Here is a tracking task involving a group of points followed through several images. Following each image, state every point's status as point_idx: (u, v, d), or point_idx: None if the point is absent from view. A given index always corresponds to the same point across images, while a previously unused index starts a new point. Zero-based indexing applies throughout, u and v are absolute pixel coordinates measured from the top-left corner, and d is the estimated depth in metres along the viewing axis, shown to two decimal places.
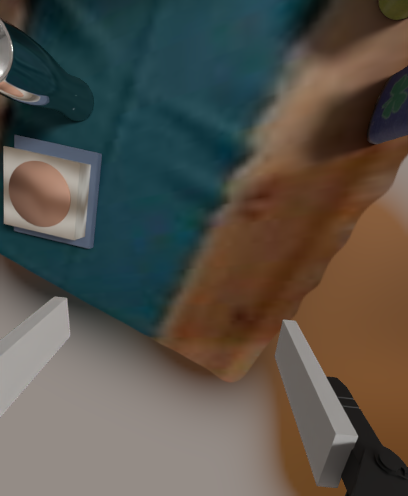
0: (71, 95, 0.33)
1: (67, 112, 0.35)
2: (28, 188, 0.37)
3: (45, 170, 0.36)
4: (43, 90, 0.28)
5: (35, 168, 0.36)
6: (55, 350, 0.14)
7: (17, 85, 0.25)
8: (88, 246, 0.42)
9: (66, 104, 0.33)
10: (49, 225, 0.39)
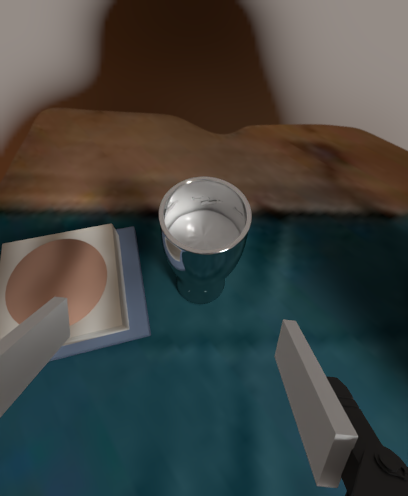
0: (203, 289, 0.25)
1: (182, 284, 0.27)
2: (63, 265, 0.26)
3: (96, 281, 0.25)
4: (191, 277, 0.19)
5: (94, 267, 0.26)
6: (55, 350, 0.14)
7: (180, 258, 0.17)
8: None
9: (190, 287, 0.25)
10: (9, 309, 0.24)
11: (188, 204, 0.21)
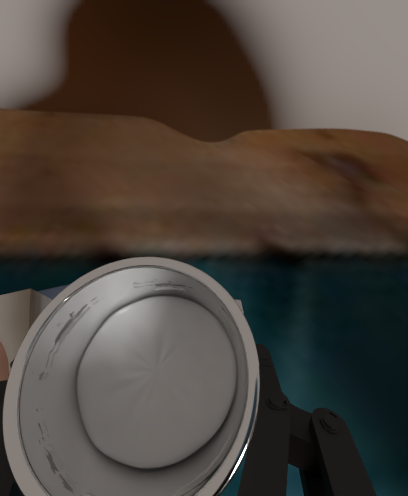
0: None
1: None
2: None
3: None
4: None
5: None
6: None
7: None
8: None
9: None
10: None
11: (130, 292, 0.11)
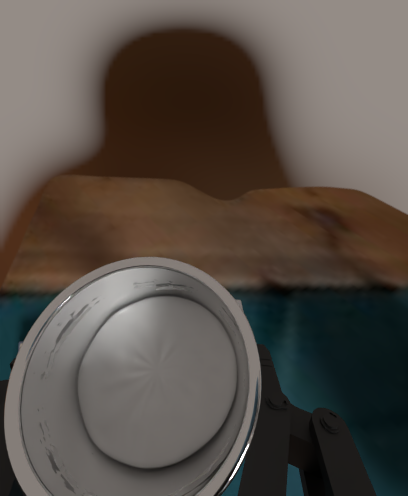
0: None
1: None
2: None
3: None
4: None
5: None
6: None
7: None
8: None
9: None
10: None
11: (131, 292, 0.11)
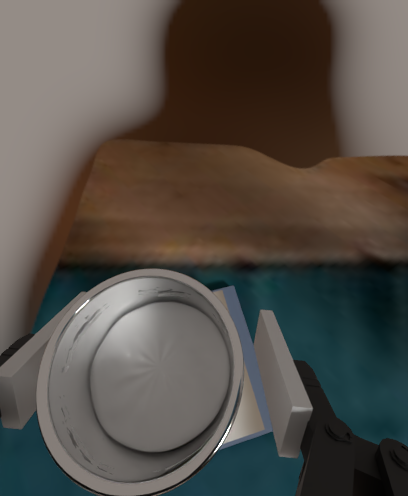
0: None
1: None
2: None
3: None
4: None
5: None
6: None
7: None
8: None
9: None
10: None
11: (136, 298, 0.12)
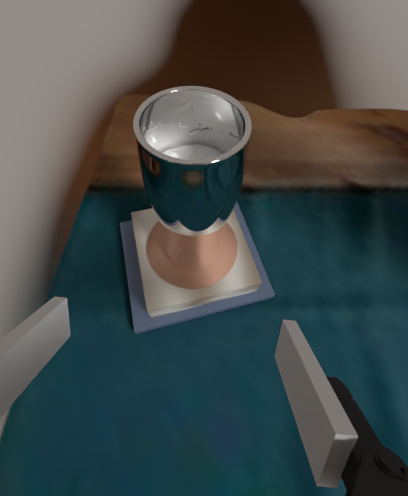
0: (195, 245, 0.21)
1: (171, 244, 0.23)
2: None
3: (228, 244, 0.27)
4: (178, 216, 0.16)
5: (223, 232, 0.28)
6: (55, 350, 0.14)
7: (162, 180, 0.13)
8: (137, 329, 0.26)
9: (179, 243, 0.21)
10: (155, 269, 0.25)
11: (175, 134, 0.18)
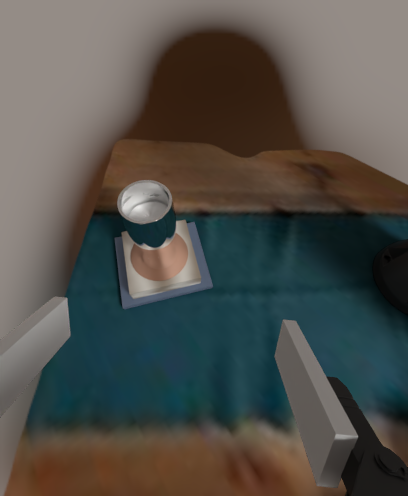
0: (156, 255, 0.37)
1: (143, 254, 0.39)
2: None
3: (182, 253, 0.43)
4: (141, 242, 0.32)
5: (180, 245, 0.43)
6: (55, 350, 0.14)
7: (130, 227, 0.29)
8: (124, 305, 0.41)
9: (146, 254, 0.37)
10: (135, 268, 0.41)
11: (141, 197, 0.34)
